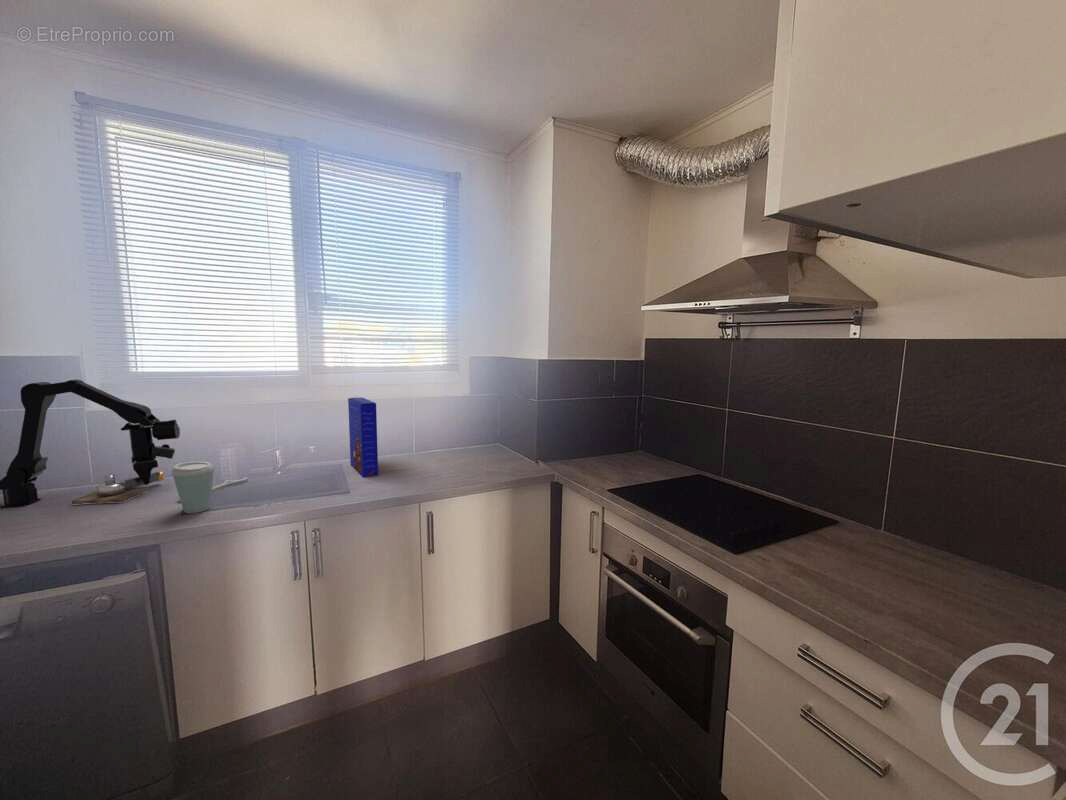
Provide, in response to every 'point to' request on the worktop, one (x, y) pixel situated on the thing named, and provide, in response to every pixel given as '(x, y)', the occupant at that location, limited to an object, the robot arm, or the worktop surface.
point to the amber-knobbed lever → (124, 483)
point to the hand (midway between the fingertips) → (147, 484)
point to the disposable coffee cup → (194, 485)
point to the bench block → (110, 496)
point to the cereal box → (363, 436)
